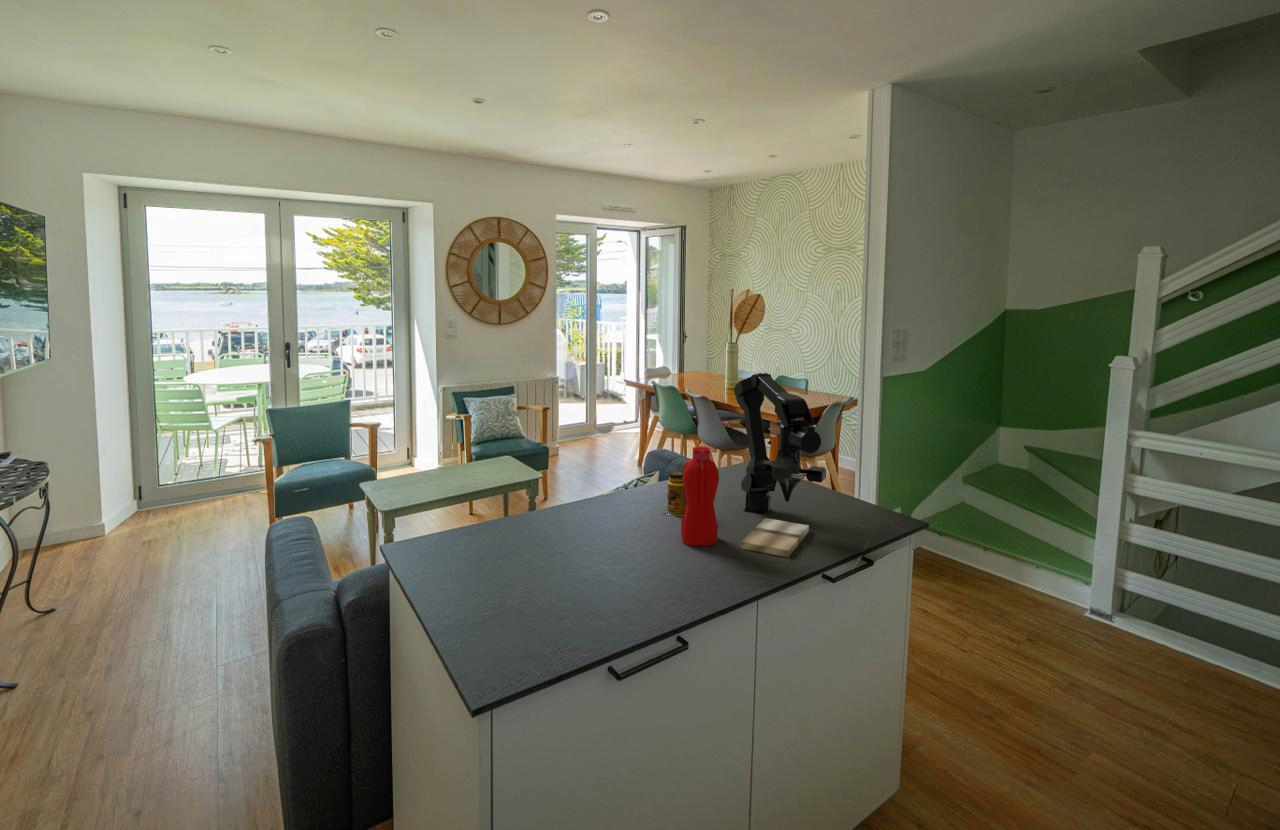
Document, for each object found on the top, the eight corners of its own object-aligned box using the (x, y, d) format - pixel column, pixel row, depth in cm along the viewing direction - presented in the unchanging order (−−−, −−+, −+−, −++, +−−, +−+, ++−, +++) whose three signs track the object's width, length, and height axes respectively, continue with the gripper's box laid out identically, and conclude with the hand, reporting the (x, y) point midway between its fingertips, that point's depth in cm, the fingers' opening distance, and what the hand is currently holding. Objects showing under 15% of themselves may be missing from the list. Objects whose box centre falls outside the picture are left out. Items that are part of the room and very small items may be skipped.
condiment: (662, 514, 190) (663, 474, 188) (671, 505, 198) (672, 467, 195) (686, 517, 187) (687, 477, 185) (694, 508, 195) (695, 469, 193)
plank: (755, 534, 173) (755, 527, 173) (765, 525, 181) (765, 518, 181) (800, 542, 168) (800, 535, 168) (808, 532, 176) (809, 525, 175)
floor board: (741, 549, 164) (741, 541, 164) (753, 536, 173) (754, 529, 172) (788, 558, 158) (788, 550, 158) (798, 544, 167) (799, 537, 167)
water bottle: (682, 550, 163) (684, 453, 158) (680, 534, 174) (682, 443, 169) (719, 550, 163) (722, 453, 158) (714, 535, 174) (717, 443, 169)
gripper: (746, 446, 171) (744, 504, 173) (818, 455, 162) (815, 515, 165) (759, 439, 180) (757, 493, 183) (828, 446, 172) (825, 503, 174)
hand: (787, 501), depth 176 cm, fingers closed
